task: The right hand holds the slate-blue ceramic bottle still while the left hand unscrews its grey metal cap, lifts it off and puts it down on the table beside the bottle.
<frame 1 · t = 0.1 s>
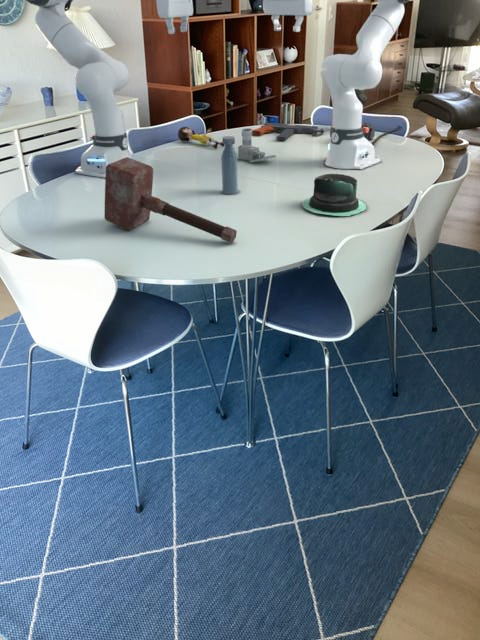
left hand: (177, 32, 183), 48 cm above the table, tool pointing down, fingers open, 8 cm apart
right hand: (286, 31, 178), 48 cm above the table, tool pointing down, fingers open, 8 cm apart
round two-tone rimmed part: (333, 206, 176), on the table
statue: (353, 131, 270), on the table
bottle: (230, 192, 190), on the table
toy: (355, 144, 247), on the table
figurine: (200, 144, 252), on the table
submachine gun: (285, 135, 264), on the table
sledgehammer: (172, 232, 159), on the table
camera: (254, 161, 225), on the table
cap: (228, 138, 181), point 18 cm above the table, screwed on, not yet turned
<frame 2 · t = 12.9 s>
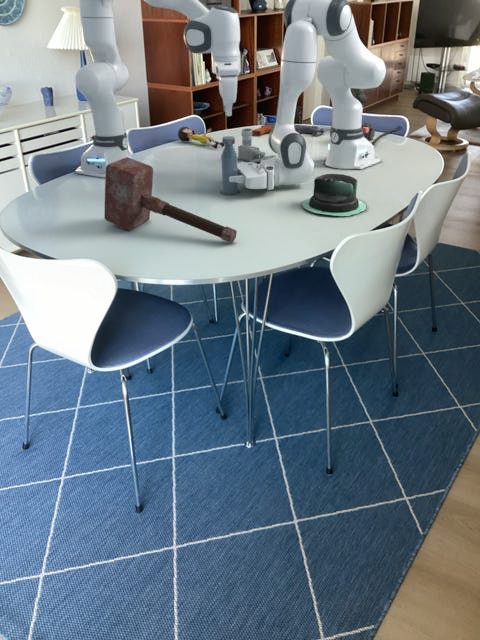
left hand: (227, 113, 177), 26 cm above the table, tool pointing down, fingers open, 6 cm apart
right hand: (227, 176, 187), 6 cm above the table, tool horizontal, fingers closed on bottle, 5 cm apart
bottle: (230, 192, 190), on the table, touching right hand
everything else where it was.
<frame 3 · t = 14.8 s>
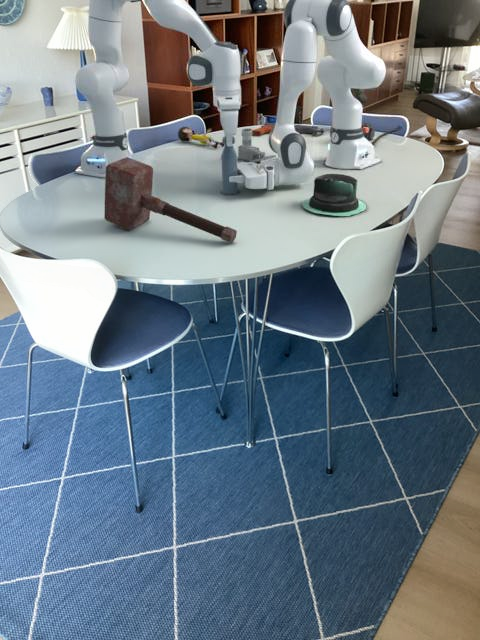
left hand: (228, 144, 182), 16 cm above the table, tool pointing down, fingers closed on cap, 4 cm apart
right hand: (227, 176, 187), 6 cm above the table, tool horizontal, fingers closed on bottle, 5 cm apart
bottle: (230, 192, 190), on the table, touching right hand
cap: (228, 138, 181), point 18 cm above the table, screwed on, not yet turned, touching left hand
everything else where it was.
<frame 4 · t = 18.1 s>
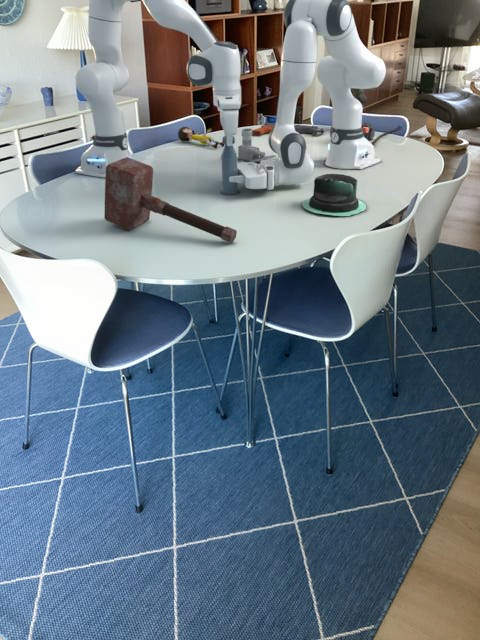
left hand: (228, 143, 182), 16 cm above the table, tool pointing down, fingers closed on cap, 4 cm apart
right hand: (227, 176, 187), 6 cm above the table, tool horizontal, fingers closed on bottle, 5 cm apart
bottle: (230, 192, 190), on the table, touching right hand
cap: (228, 138, 181), point 18 cm above the table, turned 78° so far, risen 0.1 cm, still on its thread, touching left hand
everything else where it was.
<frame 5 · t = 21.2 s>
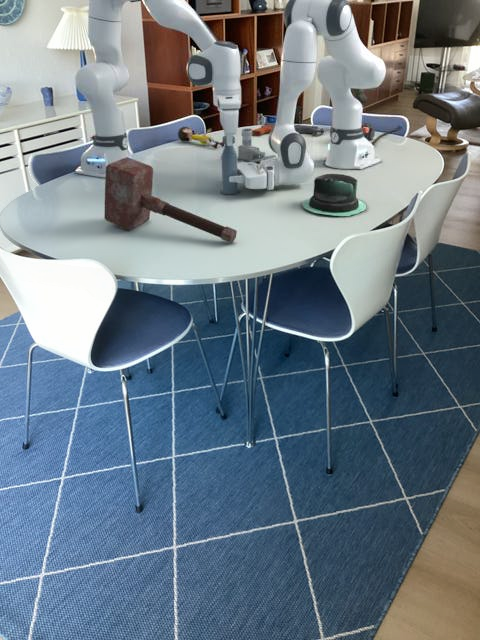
left hand: (228, 143, 182), 16 cm above the table, tool pointing down, fingers closed on cap, 4 cm apart
right hand: (227, 176, 187), 6 cm above the table, tool horizontal, fingers closed on bottle, 5 cm apart
bottle: (230, 192, 190), on the table, touching right hand
cap: (228, 137, 181), point 18 cm above the table, turned 156° so far, risen 0.1 cm, still on its thread, touching left hand
everything else where it was.
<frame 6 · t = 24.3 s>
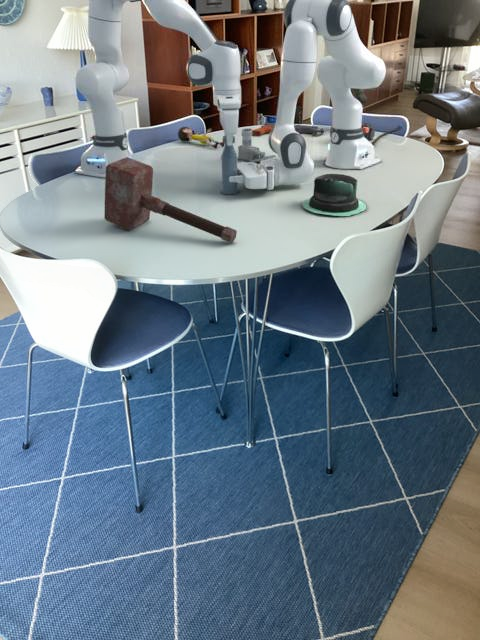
left hand: (228, 143, 182), 16 cm above the table, tool pointing down, fingers closed on cap, 4 cm apart
right hand: (227, 176, 187), 6 cm above the table, tool horizontal, fingers closed on bottle, 5 cm apart
bottle: (230, 192, 190), on the table, touching right hand
cap: (228, 137, 181), point 18 cm above the table, turned 234° so far, risen 0.2 cm, still on its thread, touching left hand
everything else where it was.
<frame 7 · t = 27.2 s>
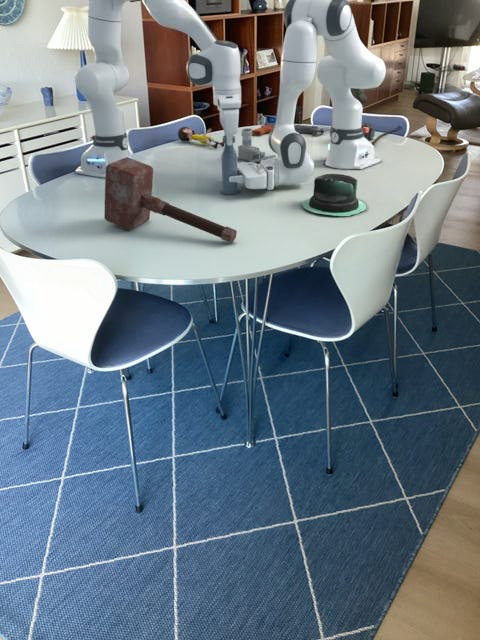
left hand: (228, 143, 182), 16 cm above the table, tool pointing down, fingers closed on cap, 4 cm apart
right hand: (227, 176, 187), 6 cm above the table, tool horizontal, fingers closed on bottle, 5 cm apart
bottle: (230, 192, 190), on the table, touching right hand
cap: (228, 137, 181), point 18 cm above the table, turned 312° so far, risen 0.3 cm, still on its thread, touching left hand
everything else where it was.
when the left hand's fingers open (2 cm above the table, at t = 37.2 s): cap drops 2 cm, point 2 cm above the table.
when the right hand's fingers open (6 cm above the table, at t = 38.4 s): bottle stays where it is, on the table.
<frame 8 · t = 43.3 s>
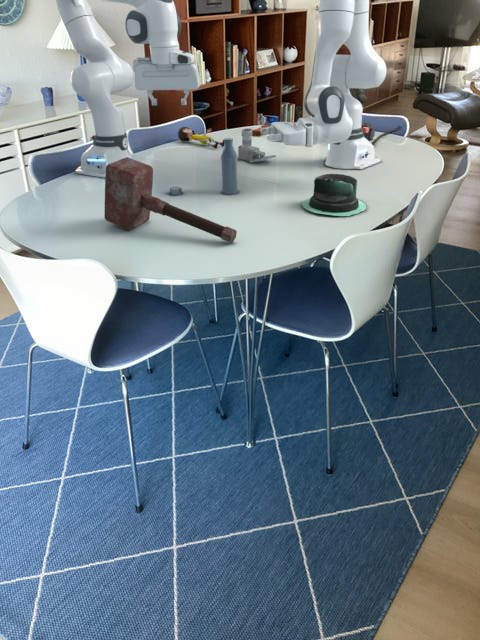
left hand: (169, 105, 176), 29 cm above the table, tool pointing down, fingers open, 8 cm apart
right hand: (264, 134, 183), 19 cm above the table, tool horizontal, fingers open, 8 cm apart
bottle: (230, 192, 190), on the table
cap: (175, 188, 190), point 2 cm above the table, off its thread
everything else where it was.
at the end: cap came off its thread; cap point 1.6 cm above the table; the left hand is holding nothing; the right hand is holding nothing; bottle tilted 0°; bottle moved 0.1 cm from its start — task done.
